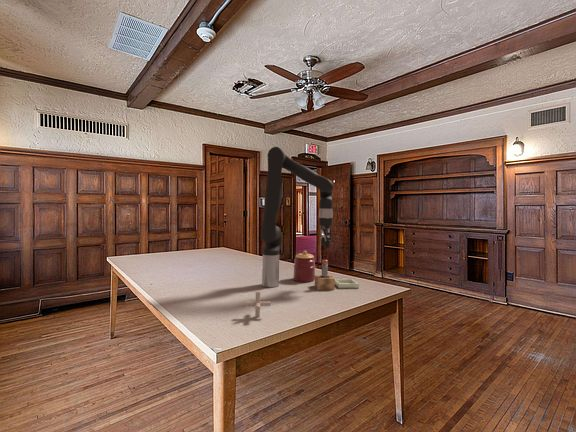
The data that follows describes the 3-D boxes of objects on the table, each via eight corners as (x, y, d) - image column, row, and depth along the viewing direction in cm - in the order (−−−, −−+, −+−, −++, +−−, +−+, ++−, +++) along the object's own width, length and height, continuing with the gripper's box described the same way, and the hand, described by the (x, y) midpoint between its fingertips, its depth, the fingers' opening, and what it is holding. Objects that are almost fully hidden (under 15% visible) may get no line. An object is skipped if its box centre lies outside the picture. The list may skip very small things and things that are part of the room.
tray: (339, 288, 164) (339, 284, 164) (333, 283, 175) (333, 279, 175) (358, 288, 165) (358, 283, 165) (352, 283, 176) (352, 278, 176)
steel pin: (322, 288, 164) (322, 260, 163) (320, 286, 167) (321, 259, 166) (327, 288, 164) (328, 260, 164) (326, 286, 167) (327, 259, 167)
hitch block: (318, 290, 160) (318, 278, 160) (314, 285, 169) (314, 274, 169) (334, 289, 162) (334, 278, 161) (330, 285, 171) (330, 274, 170)
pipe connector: (245, 312, 125) (246, 288, 125) (269, 312, 126) (270, 288, 125) (244, 321, 115) (244, 295, 115) (270, 321, 116) (271, 295, 116)
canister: (308, 283, 173) (309, 252, 173) (289, 280, 180) (289, 250, 180) (318, 279, 184) (319, 250, 184) (300, 276, 191) (301, 248, 191)
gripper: (316, 216, 171) (315, 245, 171) (322, 217, 157) (321, 248, 157) (329, 216, 172) (328, 245, 172) (336, 217, 158) (335, 248, 158)
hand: (325, 246), depth 165 cm, fingers open, 8 cm apart
